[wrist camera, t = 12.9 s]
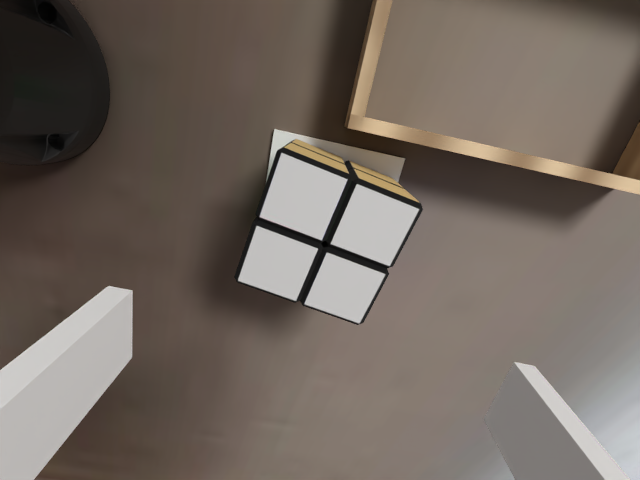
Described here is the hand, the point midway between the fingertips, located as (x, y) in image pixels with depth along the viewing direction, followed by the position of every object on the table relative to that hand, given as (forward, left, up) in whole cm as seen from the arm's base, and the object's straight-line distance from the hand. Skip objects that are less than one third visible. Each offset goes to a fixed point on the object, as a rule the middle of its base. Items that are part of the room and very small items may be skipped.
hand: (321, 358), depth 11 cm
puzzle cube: (0, 0, -21) cm, 21 cm away
